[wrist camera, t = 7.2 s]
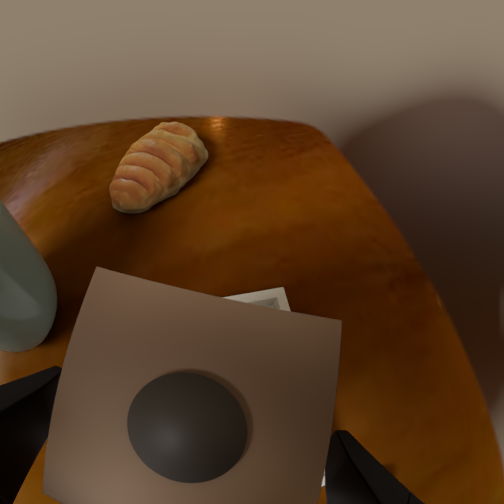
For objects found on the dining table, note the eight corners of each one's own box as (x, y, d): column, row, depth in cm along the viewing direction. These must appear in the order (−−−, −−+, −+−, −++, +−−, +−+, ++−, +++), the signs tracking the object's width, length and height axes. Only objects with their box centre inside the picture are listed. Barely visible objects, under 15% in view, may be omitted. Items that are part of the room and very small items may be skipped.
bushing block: (243, 464, 14) (306, 556, 3) (144, 443, 14) (39, 493, 3) (259, 374, 17) (345, 318, 6) (163, 354, 17) (94, 263, 6)
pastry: (154, 234, 22) (147, 202, 18) (94, 203, 22) (81, 173, 19) (212, 160, 26) (214, 128, 23) (155, 140, 27) (152, 110, 24)
